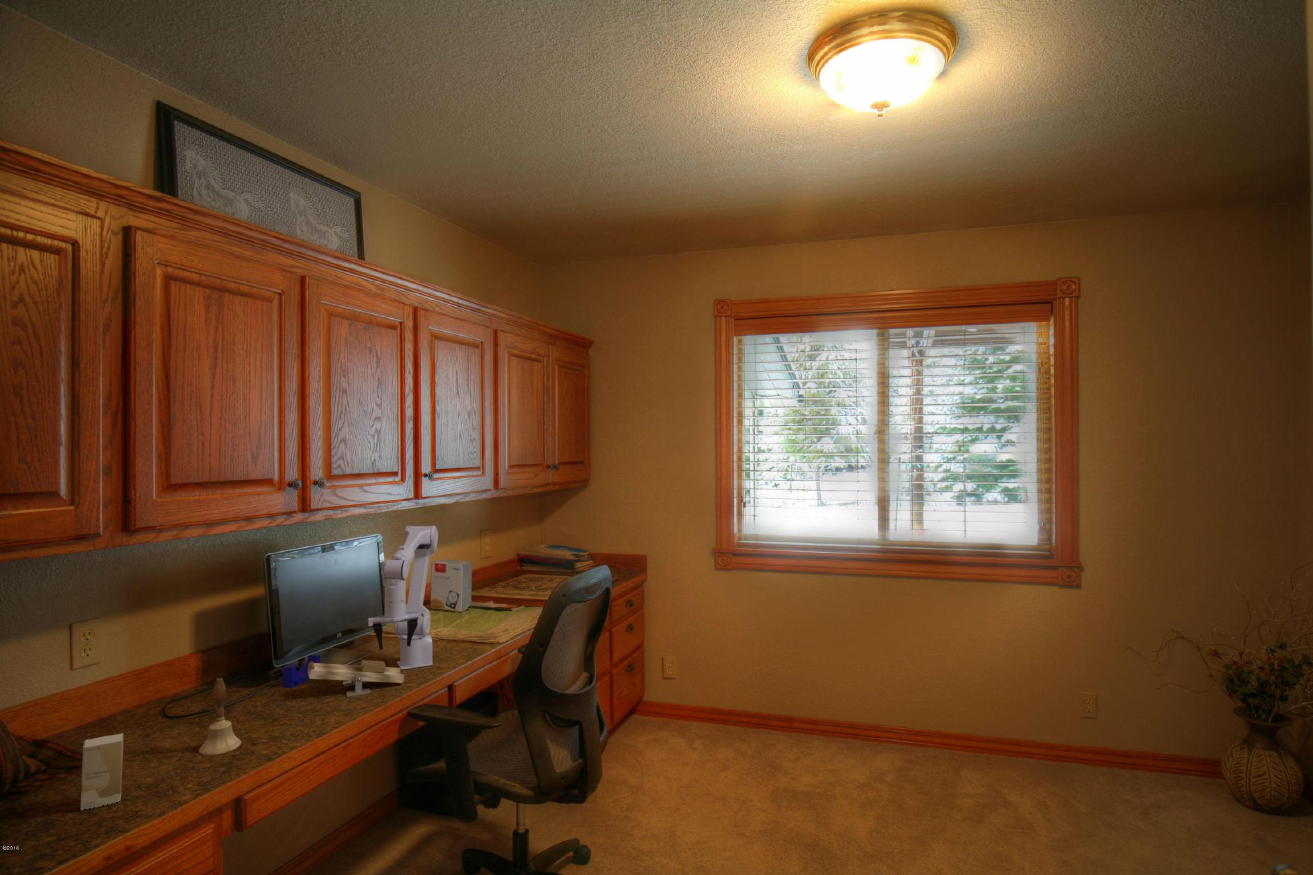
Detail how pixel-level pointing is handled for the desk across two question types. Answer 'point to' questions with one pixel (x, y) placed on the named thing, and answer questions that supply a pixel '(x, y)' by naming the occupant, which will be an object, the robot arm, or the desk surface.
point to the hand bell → (219, 726)
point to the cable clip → (296, 678)
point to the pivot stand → (356, 686)
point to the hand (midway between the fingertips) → (394, 647)
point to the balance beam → (352, 673)
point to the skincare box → (102, 771)
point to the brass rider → (372, 666)
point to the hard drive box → (451, 584)
